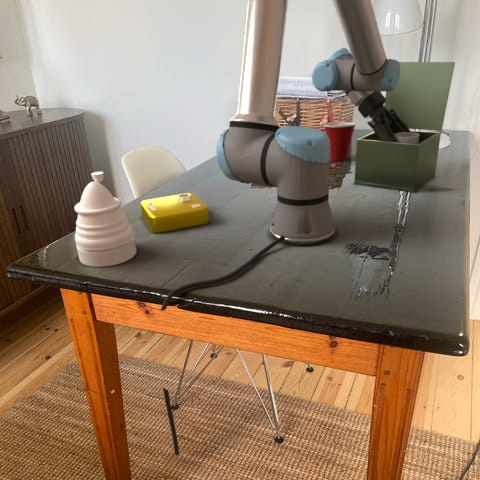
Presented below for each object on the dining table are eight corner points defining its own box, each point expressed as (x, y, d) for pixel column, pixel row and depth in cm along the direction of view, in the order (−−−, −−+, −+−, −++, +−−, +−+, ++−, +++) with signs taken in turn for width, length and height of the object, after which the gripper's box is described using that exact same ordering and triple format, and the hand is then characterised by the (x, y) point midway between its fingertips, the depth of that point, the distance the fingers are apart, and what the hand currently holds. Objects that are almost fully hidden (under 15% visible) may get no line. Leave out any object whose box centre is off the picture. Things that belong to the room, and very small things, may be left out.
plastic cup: (352, 154, 180) (354, 118, 174) (355, 162, 171) (358, 125, 165) (321, 155, 182) (322, 120, 175) (323, 163, 172) (324, 126, 166)
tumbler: (408, 178, 145) (412, 138, 140) (386, 174, 149) (390, 135, 144) (418, 172, 149) (423, 133, 144) (397, 169, 153) (401, 131, 148)
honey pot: (101, 241, 123) (85, 166, 114) (147, 246, 119) (134, 168, 110) (67, 263, 113) (47, 183, 104) (116, 269, 109) (99, 186, 100)
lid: (454, 62, 138) (455, 62, 139) (390, 61, 148) (391, 62, 149) (440, 130, 145) (441, 130, 146) (380, 126, 155) (381, 126, 156)
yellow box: (141, 216, 137) (138, 198, 135) (194, 206, 141) (192, 189, 139) (153, 234, 125) (150, 216, 123) (211, 223, 129) (209, 205, 127)
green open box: (413, 192, 141) (419, 145, 135) (354, 183, 151) (356, 139, 144) (434, 177, 152) (441, 132, 146) (377, 170, 162) (381, 128, 155)
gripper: (372, 102, 155) (418, 162, 155) (342, 114, 142) (392, 179, 142) (391, 84, 150) (438, 145, 149) (361, 94, 136) (413, 162, 136)
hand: (415, 162), depth 146 cm, fingers closed on tumbler, 7 cm apart
